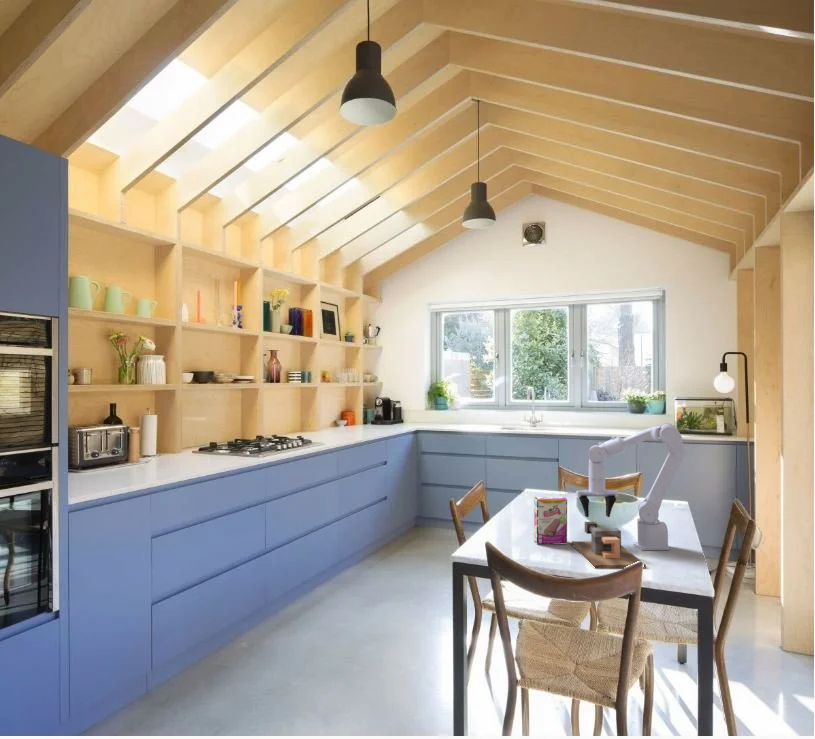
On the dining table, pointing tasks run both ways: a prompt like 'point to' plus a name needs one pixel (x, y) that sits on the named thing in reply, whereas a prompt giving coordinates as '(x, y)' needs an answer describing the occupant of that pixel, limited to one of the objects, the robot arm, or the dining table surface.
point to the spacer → (612, 547)
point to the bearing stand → (604, 549)
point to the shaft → (590, 525)
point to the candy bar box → (550, 520)
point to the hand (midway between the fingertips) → (597, 516)
